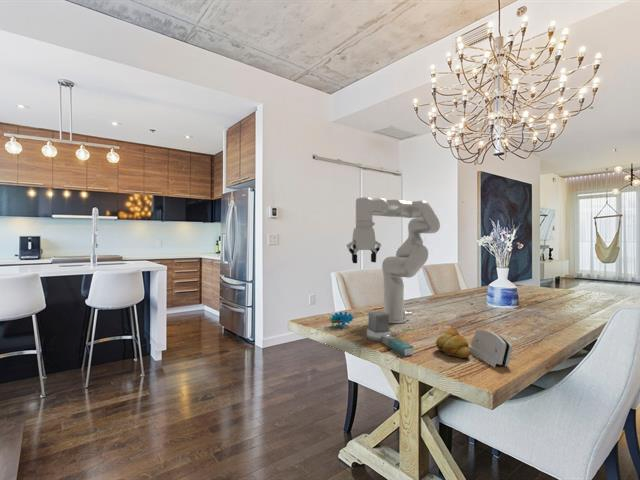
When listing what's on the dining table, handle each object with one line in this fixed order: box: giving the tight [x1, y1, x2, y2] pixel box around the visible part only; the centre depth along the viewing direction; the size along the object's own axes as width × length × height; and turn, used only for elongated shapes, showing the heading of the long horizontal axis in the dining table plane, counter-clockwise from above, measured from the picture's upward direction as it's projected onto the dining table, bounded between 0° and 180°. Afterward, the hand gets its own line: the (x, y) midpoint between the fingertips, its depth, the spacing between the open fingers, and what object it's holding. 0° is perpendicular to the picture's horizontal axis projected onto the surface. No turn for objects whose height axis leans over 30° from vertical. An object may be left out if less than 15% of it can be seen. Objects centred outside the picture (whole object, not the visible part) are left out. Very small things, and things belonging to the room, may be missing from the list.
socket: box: [368, 310, 390, 333], centre depth 138 cm, size 6×6×7 cm
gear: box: [329, 311, 354, 329], centre depth 154 cm, size 11×6×10 cm
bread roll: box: [435, 327, 471, 359], centre depth 120 cm, size 13×10×8 cm
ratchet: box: [366, 327, 414, 357], centre depth 130 cm, size 10×26×8 cm, turn 20°
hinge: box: [468, 329, 513, 368], centre depth 117 cm, size 17×5×10 cm, turn 8°
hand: (364, 262), depth 153 cm, fingers open, 9 cm apart
